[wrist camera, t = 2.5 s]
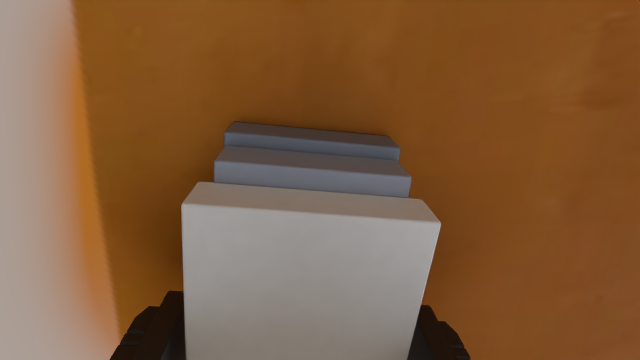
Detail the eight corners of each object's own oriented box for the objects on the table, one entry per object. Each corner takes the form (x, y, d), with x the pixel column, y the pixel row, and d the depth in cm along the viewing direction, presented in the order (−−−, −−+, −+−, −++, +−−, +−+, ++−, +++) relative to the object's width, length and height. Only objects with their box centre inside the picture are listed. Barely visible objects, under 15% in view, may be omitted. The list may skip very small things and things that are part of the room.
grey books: (232, 121, 12) (210, 145, 9) (390, 136, 13) (417, 163, 10) (226, 380, 16) (210, 455, 13) (345, 383, 17) (355, 457, 14)
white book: (197, 180, 9) (179, 203, 8) (422, 198, 10) (442, 222, 9) (200, 436, 13) (188, 484, 11) (368, 439, 13) (375, 485, 12)
